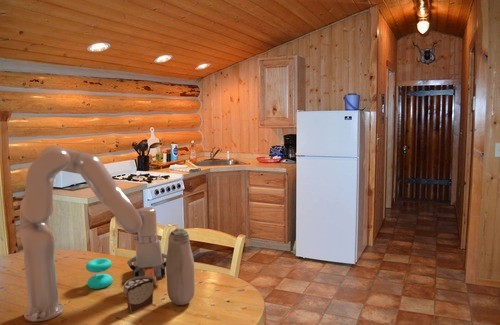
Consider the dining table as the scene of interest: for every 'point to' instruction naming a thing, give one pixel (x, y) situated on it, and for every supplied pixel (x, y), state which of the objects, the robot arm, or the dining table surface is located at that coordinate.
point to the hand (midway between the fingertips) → (150, 278)
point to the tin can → (150, 273)
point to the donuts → (99, 279)
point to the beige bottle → (180, 268)
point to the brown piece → (139, 292)
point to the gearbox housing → (158, 270)
